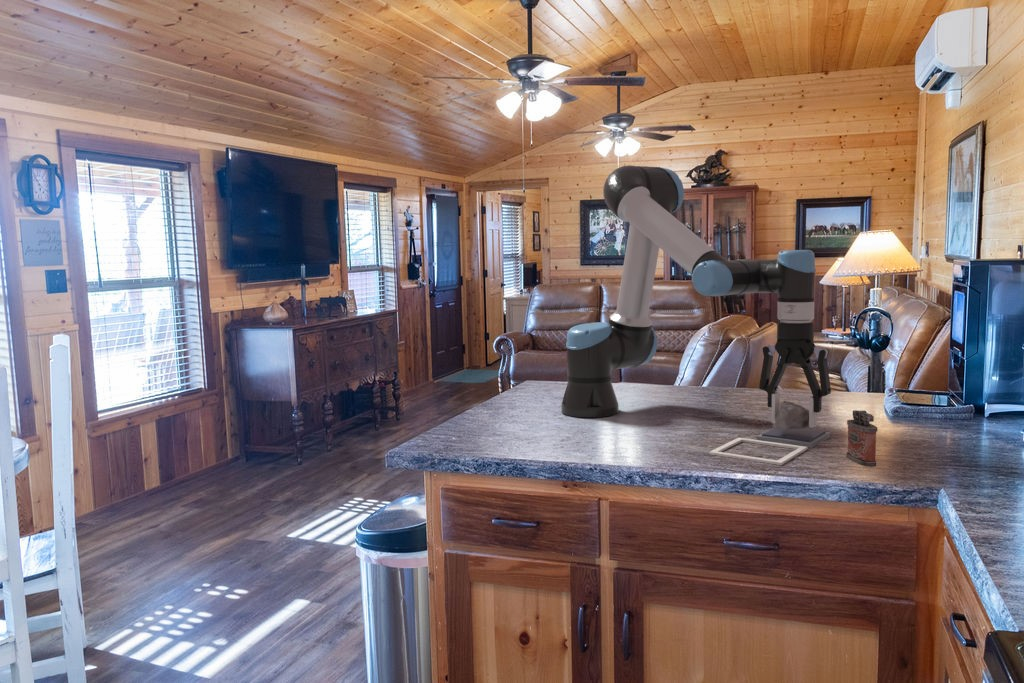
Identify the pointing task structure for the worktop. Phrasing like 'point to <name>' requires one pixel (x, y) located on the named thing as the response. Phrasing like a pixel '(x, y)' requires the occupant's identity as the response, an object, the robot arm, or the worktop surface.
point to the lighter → (862, 439)
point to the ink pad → (795, 436)
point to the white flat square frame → (780, 462)
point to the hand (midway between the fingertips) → (793, 424)
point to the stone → (791, 417)
